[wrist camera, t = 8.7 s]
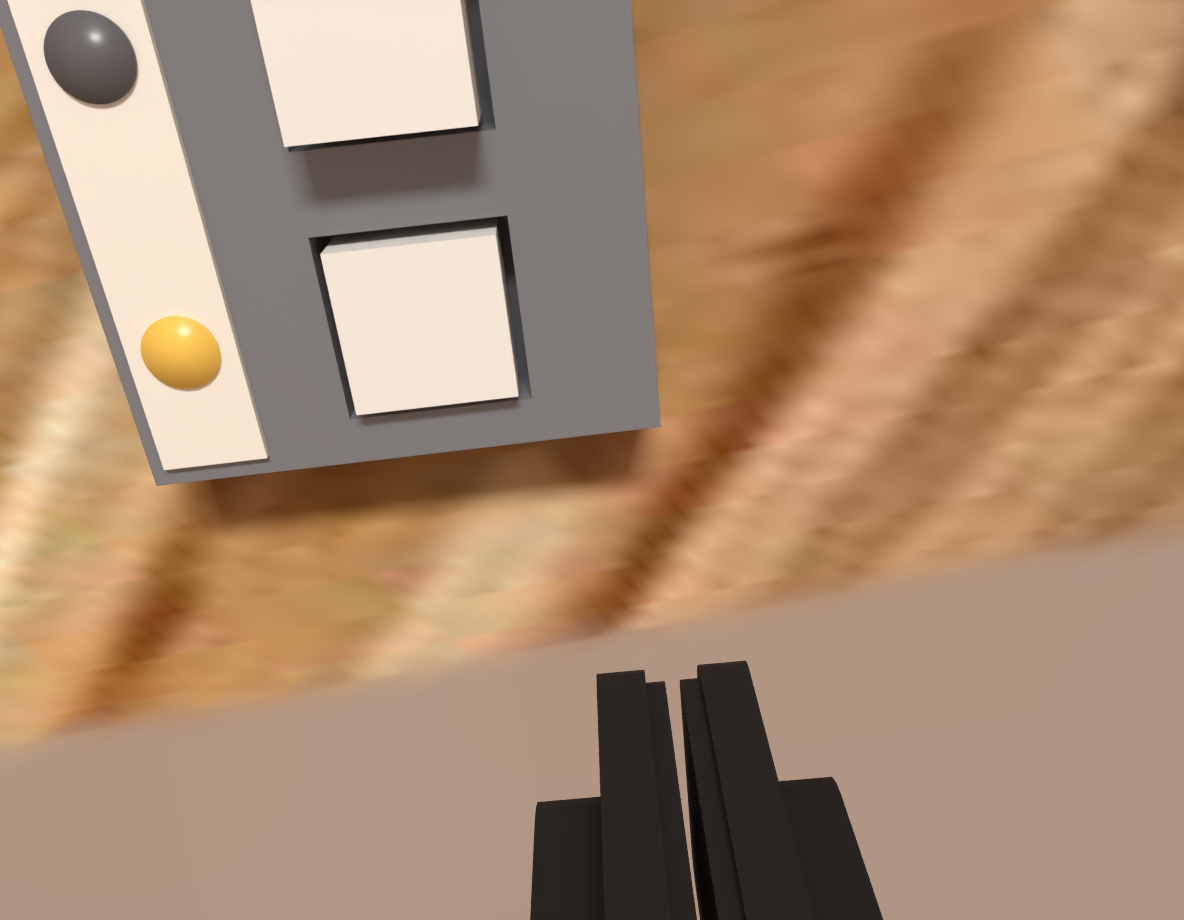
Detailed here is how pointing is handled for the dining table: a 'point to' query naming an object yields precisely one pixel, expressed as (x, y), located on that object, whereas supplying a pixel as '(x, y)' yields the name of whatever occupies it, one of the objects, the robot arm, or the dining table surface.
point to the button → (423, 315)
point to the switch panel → (338, 227)
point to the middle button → (368, 67)
